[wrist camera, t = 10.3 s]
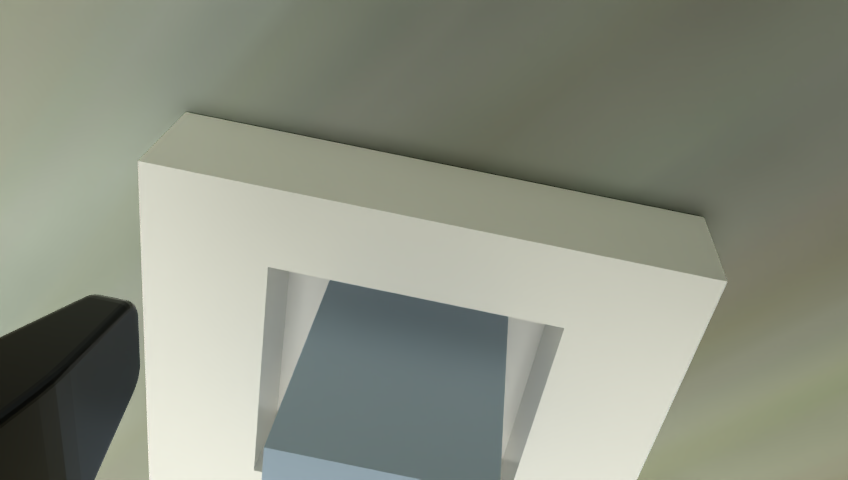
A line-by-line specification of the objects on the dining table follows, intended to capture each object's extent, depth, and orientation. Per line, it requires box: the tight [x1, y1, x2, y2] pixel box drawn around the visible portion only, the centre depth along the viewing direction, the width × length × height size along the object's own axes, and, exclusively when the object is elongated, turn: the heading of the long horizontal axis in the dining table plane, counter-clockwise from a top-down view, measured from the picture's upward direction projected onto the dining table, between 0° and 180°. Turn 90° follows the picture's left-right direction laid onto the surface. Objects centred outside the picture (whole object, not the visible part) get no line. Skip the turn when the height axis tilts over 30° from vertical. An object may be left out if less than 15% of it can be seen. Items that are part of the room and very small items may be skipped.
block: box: [262, 280, 508, 480], centre depth 21 cm, size 5×5×7 cm
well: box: [138, 112, 728, 480], centre depth 23 cm, size 14×12×3 cm
